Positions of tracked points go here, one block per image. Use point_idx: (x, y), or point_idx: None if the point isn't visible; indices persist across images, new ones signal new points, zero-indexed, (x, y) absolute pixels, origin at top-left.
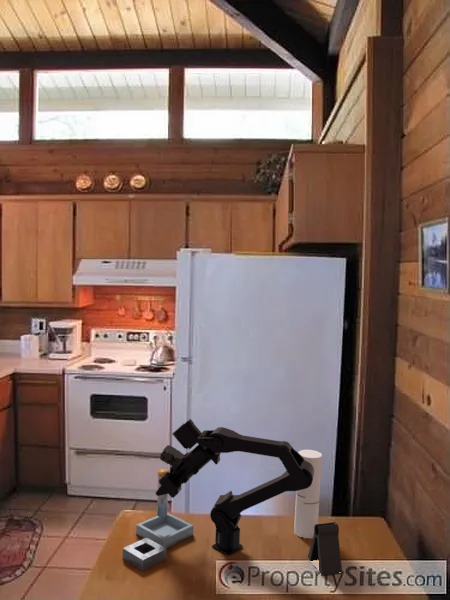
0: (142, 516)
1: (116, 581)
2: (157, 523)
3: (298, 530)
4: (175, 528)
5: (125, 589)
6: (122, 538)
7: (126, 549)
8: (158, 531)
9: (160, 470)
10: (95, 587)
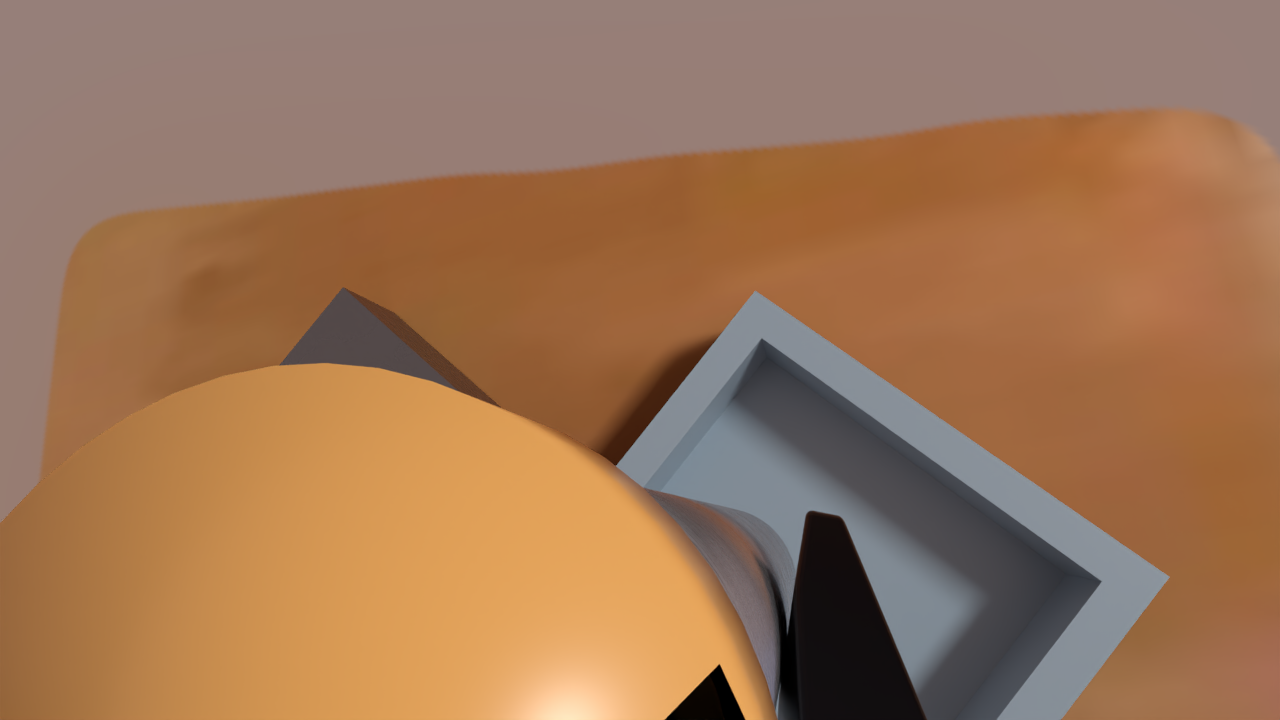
0: (1165, 290)
1: (160, 346)
2: (957, 490)
3: None
4: None
5: (85, 420)
6: (678, 228)
7: (325, 319)
8: None
9: (371, 592)
10: (119, 247)
